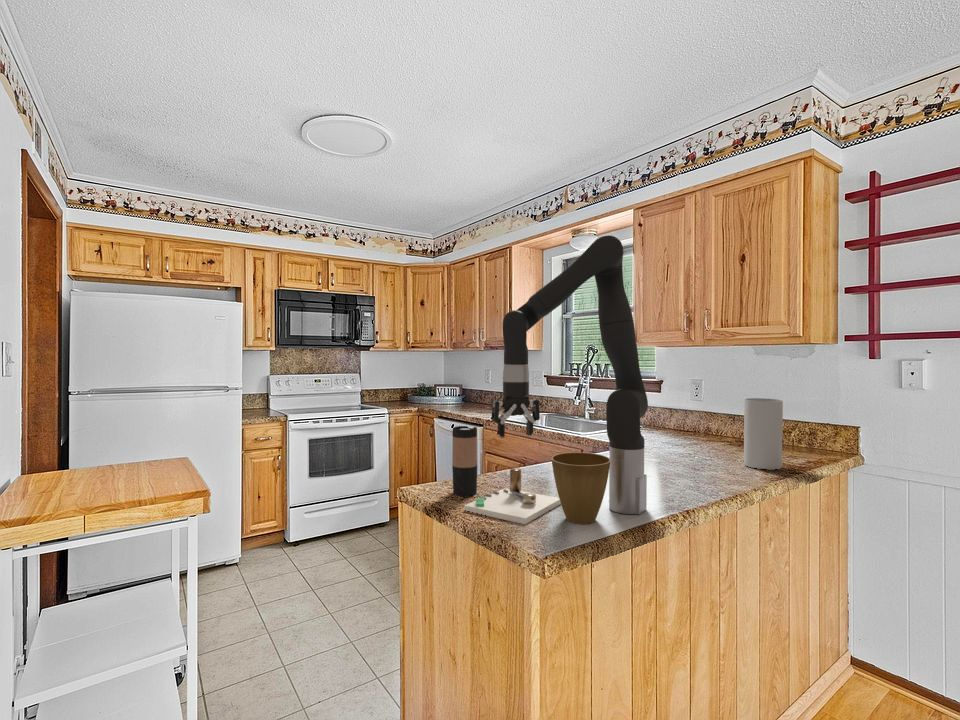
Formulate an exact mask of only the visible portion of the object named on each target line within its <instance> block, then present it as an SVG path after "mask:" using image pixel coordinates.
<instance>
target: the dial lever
mask: <svg viewBox="0 0 960 720" xmlns="http://www.w3.org/2000/svg"><path fill="white" fill-rule="evenodd" d="M509 489H510V492H512V493H513V494H515V495H516V496H518V497H519V498H521V499H523V503H525V504H535V503H536V495H535V494H536V493H535V494H532V493H533V492H529V493H525V494H523V493H522V492H520V491H522V469H521V468H515V467H513V468H510V469H509Z"/></svg>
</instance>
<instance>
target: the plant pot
mask: <svg viewBox="0 0 960 720" xmlns="http://www.w3.org/2000/svg"><path fill="white" fill-rule="evenodd" d="M550 460H551V465H552V472H553V476H554V477H553V478H554V482H555V486H556V491H557V496H558V498H559V499H560V502H561V504H560V505H561V508H562V512H563V514H564V516H565V519H566V520H567V521H568V522H570V523H573V524H576V523H578V524H577V525H587V524H586V523H590V524H592V522H593V523H594V522H595V521H596V519H597V518H598V517H597V516H598V515H599V512H600V509H601V506H602V503H603V500H604V496H605V494H606V493H605V492H606V488H607V485H608V481H609V468H610V459H609V457H607V456H605V455H603V454H598V453H593V452H583V451H581V452H579V451H577V452H576V451H575V452H574V451H573V452H571V451H570V452H563V453H557V454H554V455H552V456H551V459H550Z"/></svg>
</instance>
